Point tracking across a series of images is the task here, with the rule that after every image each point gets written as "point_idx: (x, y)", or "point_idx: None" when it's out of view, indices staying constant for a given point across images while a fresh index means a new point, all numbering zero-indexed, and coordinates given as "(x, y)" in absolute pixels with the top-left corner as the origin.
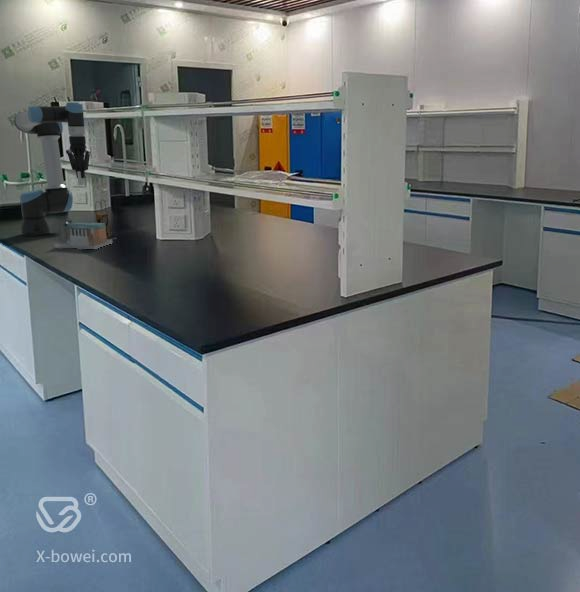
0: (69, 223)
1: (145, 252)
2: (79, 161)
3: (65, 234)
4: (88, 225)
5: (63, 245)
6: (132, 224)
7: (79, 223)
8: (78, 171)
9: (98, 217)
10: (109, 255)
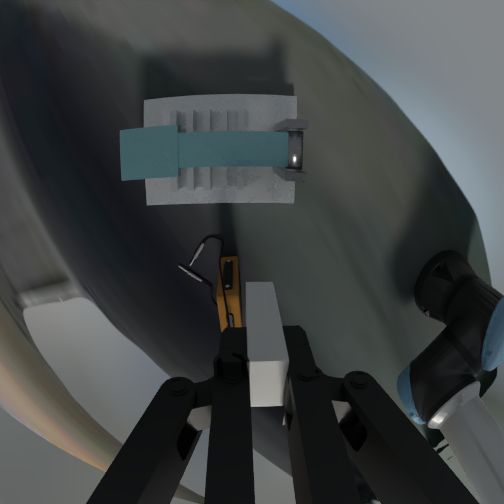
0: (271, 139)
1: (23, 134)
2: (247, 489)
3: (278, 126)
4: (164, 125)
5: (261, 95)
6: (269, 424)
7: (227, 150)
8: (285, 377)
9: (229, 290)
10: (78, 66)
